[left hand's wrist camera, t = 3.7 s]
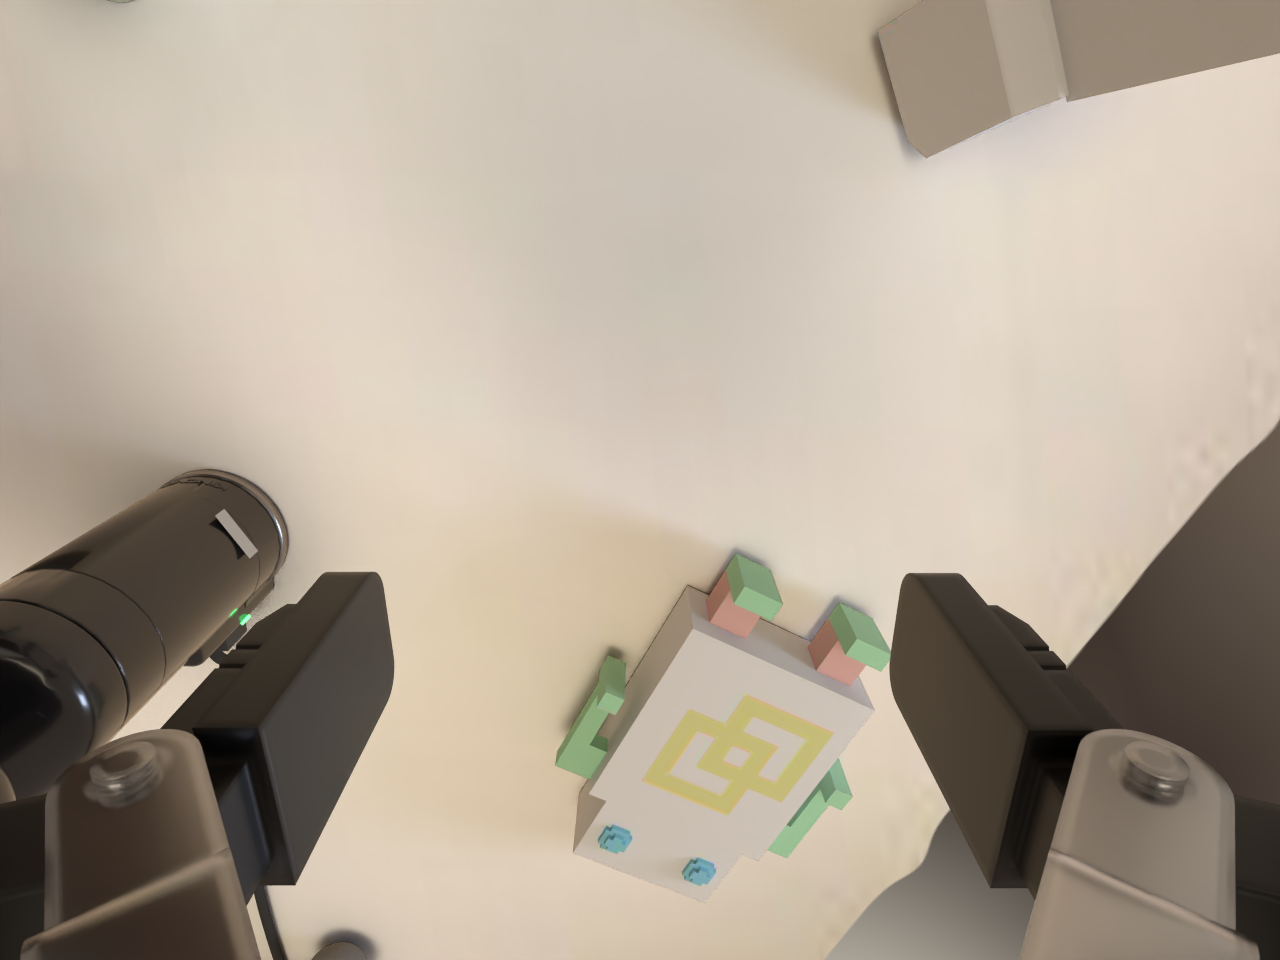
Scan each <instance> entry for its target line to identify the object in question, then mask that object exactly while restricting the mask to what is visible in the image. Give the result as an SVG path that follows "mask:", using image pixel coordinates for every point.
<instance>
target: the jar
mask: <svg viewBox="0 0 1280 960" xmlns="http://www.w3.org/2000/svg"><path fill="white" fill-rule="evenodd" d="M108 1H112V2H120V3H123V2H129V1H132V0H108Z"/></svg>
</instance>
